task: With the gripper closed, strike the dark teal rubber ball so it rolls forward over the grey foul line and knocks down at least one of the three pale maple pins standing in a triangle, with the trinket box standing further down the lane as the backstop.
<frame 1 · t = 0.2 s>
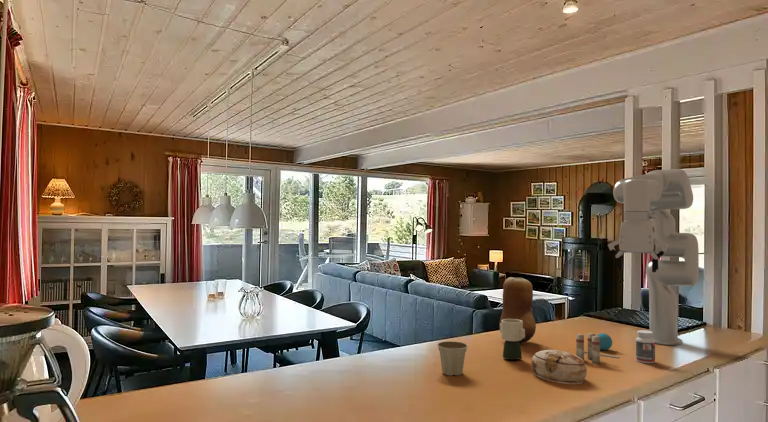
hand: (637, 270, 156), 31 cm above the kitchen counter, tool pointing down, fingers open, 9 cm apart
foul line: (597, 354, 171), on the kitchen counter
pin right: (580, 360, 164), on the kitchen counter
pin front: (591, 358, 166), on the kitchen counter
trinket box: (558, 378, 146), on the kitchen counter
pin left: (595, 362, 161), on the kitchen counter
character mug: (512, 359, 166), on the kitchen counter
flower pot: (452, 373, 150), on the kitchen counter
pill bottle: (645, 362, 163), on the kitchen counter
butternut squash: (517, 343, 189), on the kitchen counter
ball: (603, 341, 178), on the kitchen counter
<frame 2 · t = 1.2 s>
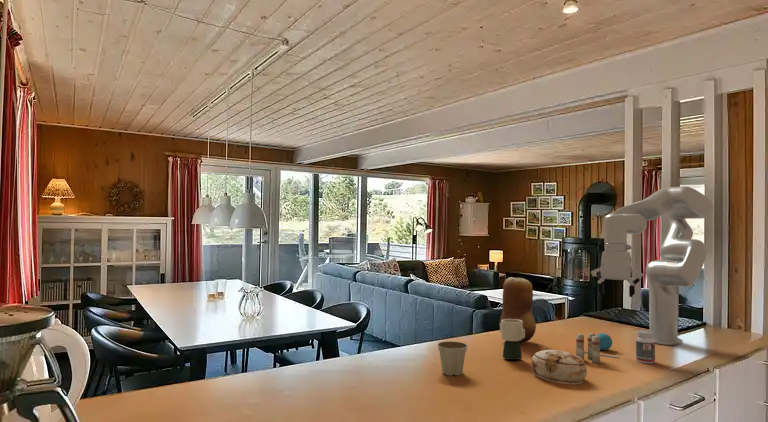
hand: (616, 295, 177), 20 cm above the kitchen counter, tool pointing down, fingers open, 9 cm apart
nothing on the kitchen counter moved.
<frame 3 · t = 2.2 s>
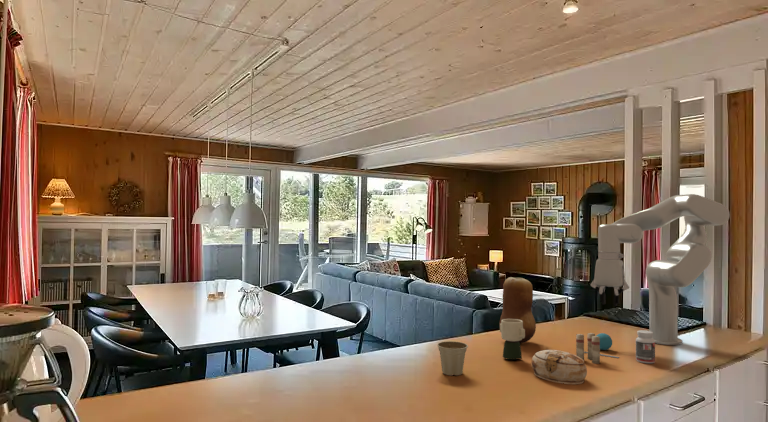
hand: (609, 304, 186), 15 cm above the kitchen counter, tool pointing down, fingers open, 3 cm apart
nothing on the kitchen counter moved.
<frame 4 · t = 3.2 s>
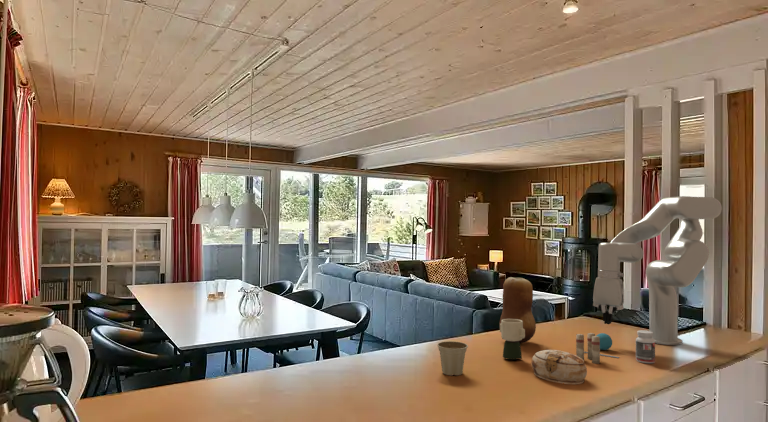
hand: (607, 323, 185), 8 cm above the kitchen counter, tool pointing down, fingers closed
nothing on the kitchen counter moved.
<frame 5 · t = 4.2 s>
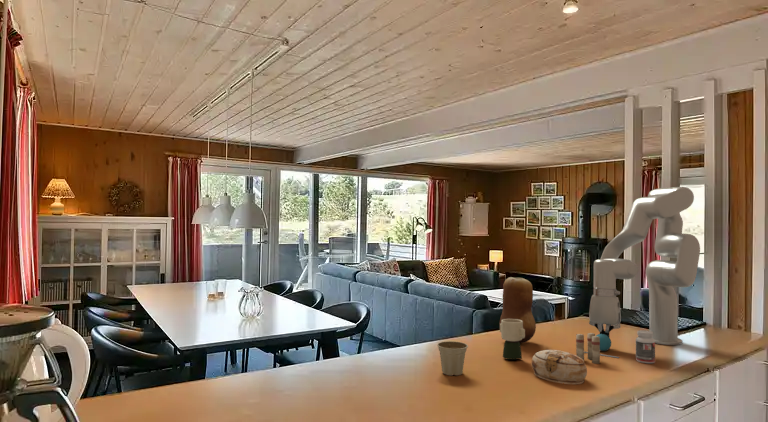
hand: (604, 342, 180), 2 cm above the kitchen counter, tool pointing down, fingers closed
ball: (602, 342, 177), on the kitchen counter, touching gripper
everything else where it was.
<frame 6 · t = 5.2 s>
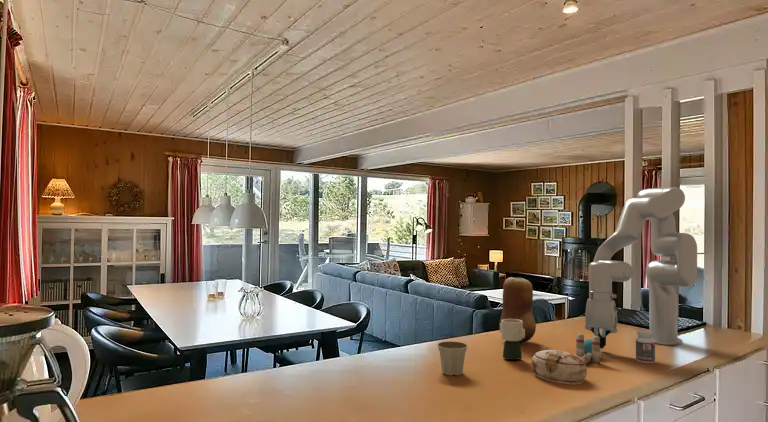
hand: (601, 347, 175), 2 cm above the kitchen counter, tool pointing down, fingers closed
pin front: (589, 356, 165), point 1 cm above the kitchen counter, tilted 90°
ball: (590, 348, 169), on the kitchen counter
everything else where it was.
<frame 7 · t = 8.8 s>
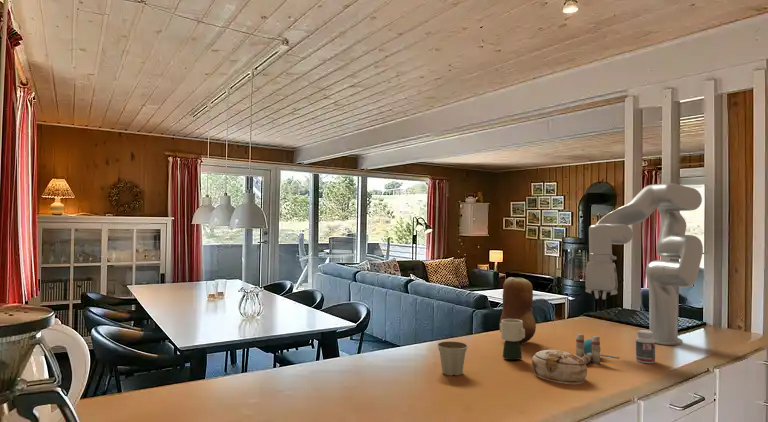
hand: (601, 309, 176), 15 cm above the kitchen counter, tool pointing down, fingers closed
nothing on the kitchen counter moved.
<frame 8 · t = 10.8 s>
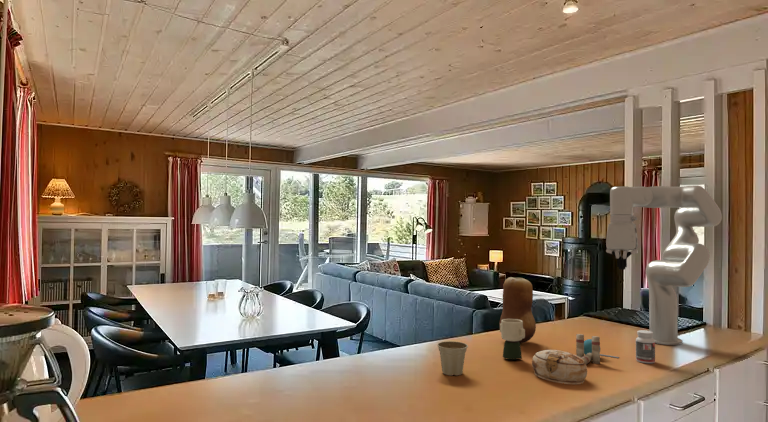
hand: (621, 269, 181), 29 cm above the kitchen counter, tool pointing down, fingers closed
nothing on the kitchen counter moved.
at the end: 1 of 3 knocked over (down: pin front; still standing: pin left, pin right); pin front never touched the robot; ball never touched trinket box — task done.
